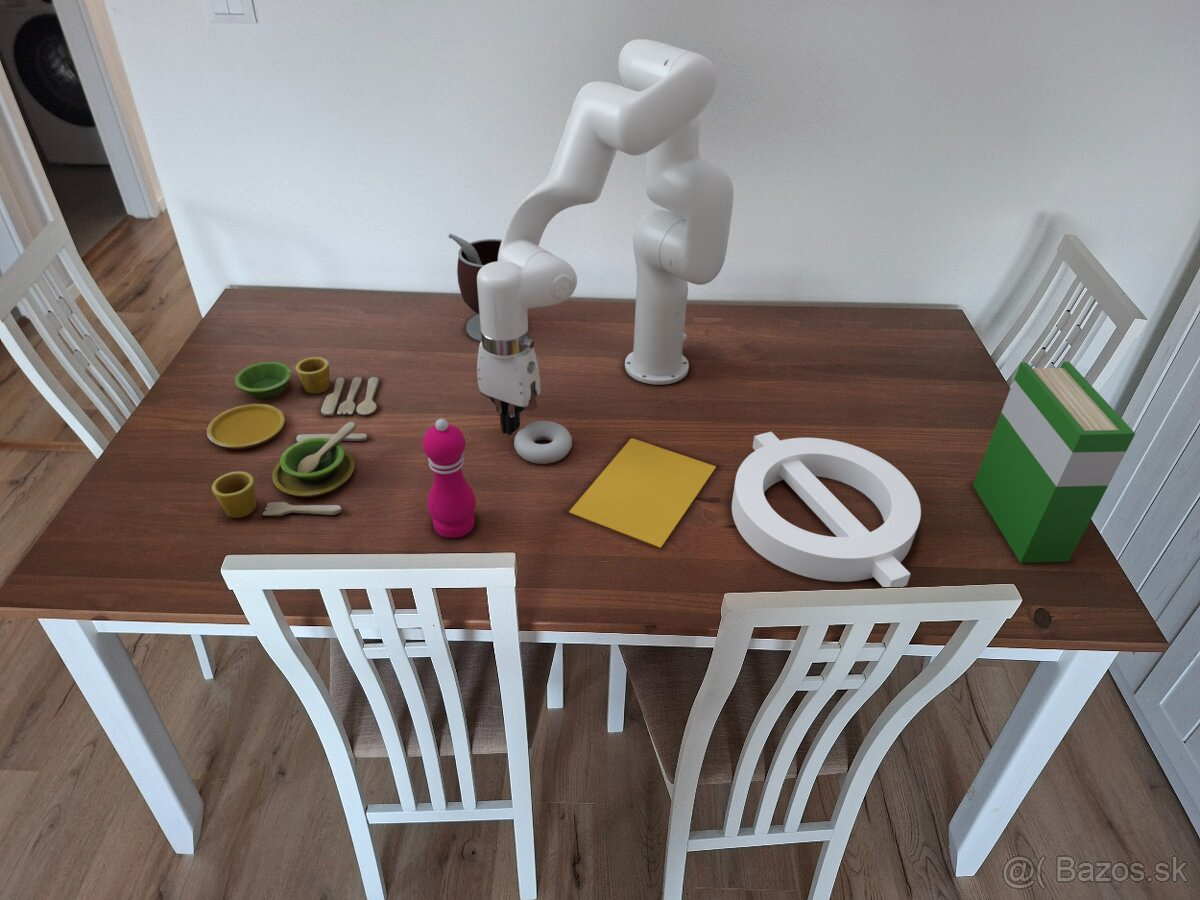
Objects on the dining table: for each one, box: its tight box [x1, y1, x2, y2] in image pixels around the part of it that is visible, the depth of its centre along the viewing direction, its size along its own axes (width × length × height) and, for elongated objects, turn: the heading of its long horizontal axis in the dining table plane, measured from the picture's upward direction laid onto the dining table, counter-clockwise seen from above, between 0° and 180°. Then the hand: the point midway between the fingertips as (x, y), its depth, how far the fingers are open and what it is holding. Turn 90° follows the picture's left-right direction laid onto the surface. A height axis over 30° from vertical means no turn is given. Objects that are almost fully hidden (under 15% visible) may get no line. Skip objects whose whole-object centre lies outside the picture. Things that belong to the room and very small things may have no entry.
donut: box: [513, 420, 573, 465], centre depth 142 cm, size 10×3×10 cm
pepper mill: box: [422, 418, 477, 539], centre depth 122 cm, size 7×7×20 cm
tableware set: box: [206, 356, 380, 519], centre depth 141 cm, size 41×28×6 cm
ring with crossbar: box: [731, 431, 922, 588], centre depth 129 cm, size 28×28×5 cm
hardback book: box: [972, 361, 1136, 564], centre depth 123 cm, size 18×7×24 cm, turn 3°
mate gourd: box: [448, 233, 503, 342], centre depth 169 cm, size 16×14×20 cm
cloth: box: [568, 437, 717, 549], centre depth 135 cm, size 22×16×1 cm
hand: (510, 429), depth 145 cm, fingers closed
